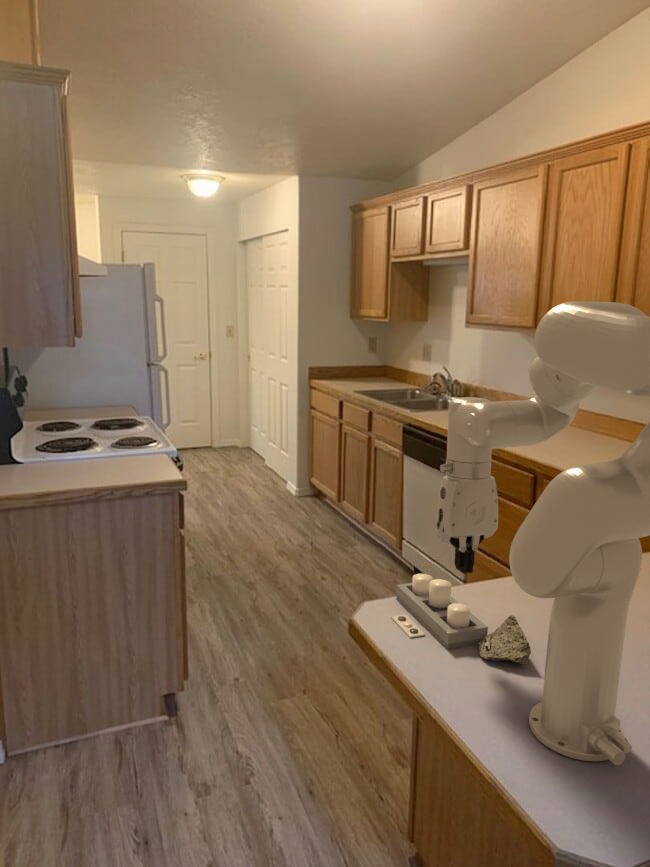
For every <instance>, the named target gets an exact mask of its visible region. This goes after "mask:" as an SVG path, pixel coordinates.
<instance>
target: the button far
mask: <svg viewBox="0 0 650 867" xmlns="http://www.w3.org/2000/svg"><path fill="white" fill-rule="evenodd" d="M431 580H434V578H433V576H432V575H429V574H426V573H417V574H413V576H412V582H411V583H412V593H414V594H415V595H416V596H423V595H429V588H430V581H431Z"/></svg>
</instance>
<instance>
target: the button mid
mask: <svg viewBox="0 0 650 867" xmlns="http://www.w3.org/2000/svg"><path fill="white" fill-rule="evenodd" d="M451 593H452V583H451V582H450V581H449V580H446V579H441V578H435V579H434V578H433V580H431V581H430V588H429V604H430V605H431V606H434V607H437V608H446V607H448V606H449V605H450V596H451Z"/></svg>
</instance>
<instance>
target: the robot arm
mask: <svg viewBox="0 0 650 867" xmlns="http://www.w3.org/2000/svg"><path fill="white" fill-rule="evenodd" d="M534 349H535V352H536V355H537V357H535V358H534V360H533V361H532V363H531V365H530V368H529V374H528V375H529V376H528V377H529V381H530V382H529V383H530V385H531V387H532V390H533V391H534V393H535V394H536V395H534V396H533V397H531V398H529V399H522V400H521V399H520V400H519V399H518V400H516V399H515V400H499V401H491V400H490V399H488V398H483V397H477V396H476V397H475V396H471V397H470V396H465V397H455V398H454V399H452V400H451V401H450V402H449V405H448V414H447V440H446V459H445V463H443V464H440V466H439V471H440V472H441V473H445V475H443V476H442V480H441V482H440V485H439V486H440V488H439V493H438V497H437V507H436V521H435V522H436V528H437V530H438V532H437V535H436V539H437V540H438V541H440V542H441V543H448V544H450V545H451V546H452V547H453V548H454V549H455V550H454V566H455V569H456V570H458V571H459V572H460V573H462V574H464V575H466V574H472V573H473V572H474V566H475V554H476V553H475V552H476V551H477V550H479V545H480V544H481V543H482V542H483V541H484V540H485V539H487V538H490V537H493V536H494V533H495V532H497V531H498V527H499V502H498V501H499V497H498V496H499V495H498V489H497V483H496V479H495V477H494V476H492V475H491V474H492V473H491V472H492V471H491V470H492V452H493V450H496V449H497V450H498V449H505V448H518V447H532V446H536V445H539V444H542V443H544V442H546V441H548V440H549V439H551V438H553V437H554V436H556V435H558V434H559V433H560V432H562V431H563V430H565V429H567V428H568V427H569V426H570V425H571V424H572V423H573V421H574V419H575V418H576V415H577V413H578V411H579V408H580V402H582V401H583V400H584V399H586V398H587V397H589V396H590V395H592V394H593V393H595V392H596V391H597V390H599V389H600V388H601V389H604V390H607V391H610V392H614V393H617V394H621V395H625V396H631V397H640V398H641V397H644V398H645V397H646V398H647V397H649V398H650V316H648V315H646V314H645V313H644V312H643V310H641V309H639V308H637V307H635V306H633V305H631V304H628V303H622V302H615V301H588V300H587V301H583V300H580V301H579V300H574V301H573V300H572V301H565V302H562V303H560V304H558V305H556V306H553V307H552V308H551V309H550V310H549V311H547V312H546V313H545V314H544V316H543V317H542V318H541V320H540V321H539V323H538V325H537V328H536V331H535V334H534ZM649 536H650V421H648V423H646V425H645V426H644V427H643V429H642V430H641V431H640V433H638V435H637V437H636V438H635V440H634V441H633V442H632V443H631V445H630V446H629V447H628V448H627V449H626V450H625V452H624V453H622V454H621V455H620V456H619V457H618V458H615V459H613V460H610V461H605V462H604V461H602V462H594V463H584V464H580V465H575V466H572V467H569V468H567V469H564V470H563V471H561V472H560V473H559V474H557V475H556V476H555V477H554V478H553V479H551V480H550V482H549V483H548V484H547V485H546V487H545V488H544V490H543V491H542V493H541V494H540V495H539V498H537V500H536V502H535V504H534V505H533V506H532V508H531V510H530V511H529V513H528V514H527V515H526V517H524V520H523V522H522V523H521V524H520V527H519V528H518V529H517V532H516V533H515V534H514V537H513V540H512V542H511V544H510V550H509V555H508V556H509V557H508V560H509V567H510V573H511V575H512V578H513V580H514V582H515V583H516V584H517V586H518V587H519V589H521V590H522V591H524V592H525V593H526V594H528V595H530V596H532V597H534V598H535V597H536V598H538V599H553V602H552V605H551V610H550V615H549V616H550V617H549V626H548V635H547V646H546V647H547V648H546V656H545V657H546V658H545V666H544V668H545V669H544V678H543V689H542V700H541V701H540V702H538V703H537V704H535V705H533V706H532V708H531V709H530V711H529V715H528V716H529V717H528V725H529V728H530V730H531V732H532V734H533V736H534V737H535V738H536V739H537V740H538V741H539V742H541V743H542V744H543V746H545V747H547V748H549V749H550V750H552V751H554V752H556V753H558V754H560V755H562V756H565V757H568V758H570V759H575V760H578V761H586V762H602V761H608V760H609V761H610V762H611V763H612V764H614V765H615V766H620V765H621V764H623V763H624V761H625V759H626V754H629V753H630V752H631V751H632V748H633V746H632V744H631V743H630V742H628V740H626V736H625V732H624V730H623V728H622V726H621V720H620V718H618V717H617V716H616V709H617V701H618V700H617V699H618V692H619V684H620V676H621V668H622V666H621V665H622V660H623V649H624V642H625V641H624V640H625V636H626V628H627V622H628V613H629V609H630V604H631V600H632V596H633V593H634V590H635V588H636V586H637V582H638V579H639V576H640V573H641V569H642V564H643V550H642V544H641V541H640V539H641V538H646V537H649Z"/></svg>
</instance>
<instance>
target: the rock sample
mask: <svg viewBox="0 0 650 867" xmlns="http://www.w3.org/2000/svg"><path fill="white" fill-rule="evenodd" d="M518 621H520V620H517V619H516V616H515V615H514V614H510V615H508V616H507V618H506V619H505V620H504V621H503V622H502V623H501V625H500V626H498V627H497V628H496V629H495V630H494V631H493V632H491V633H489V634H487V636H486V637H485V639H484V640H483V641H481V642H479V644H478V649H479V650H478V652H479V653H478V654H479V656H480V657H481V658H483V659H484V660H487V661H490V662H491V661H494V662H495V661H496V662H497V661H499V662H501V661H510V662H512V663H515V664H518V665H519V664H520V665H525V664H528V660H529V657H530V655H531V654H532V650H531V646H530V642H529V641H528V639H527V636H526V635H525V633H524V631H523V629H522V627H521V626H520V625H519V624H520V623H519V622H518ZM520 622H521V621H520Z"/></svg>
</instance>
